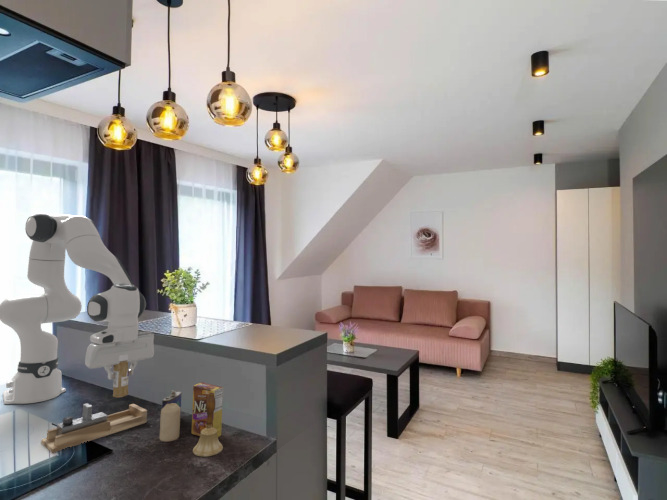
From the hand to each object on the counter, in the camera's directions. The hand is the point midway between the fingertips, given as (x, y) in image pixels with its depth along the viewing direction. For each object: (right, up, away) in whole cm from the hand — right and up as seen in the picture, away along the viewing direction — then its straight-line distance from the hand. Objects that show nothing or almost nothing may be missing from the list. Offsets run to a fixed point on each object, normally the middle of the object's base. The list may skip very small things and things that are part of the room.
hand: (120, 376), depth 121 cm
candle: (+19, -16, -7) cm, 26 cm away
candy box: (+30, -17, -5) cm, 34 cm away
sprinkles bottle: (0, -6, 0) cm, 6 cm away
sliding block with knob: (-6, -14, -9) cm, 18 cm away
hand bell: (+33, -16, -14) cm, 39 cm away
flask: (+15, -17, +3) cm, 23 cm away
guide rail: (-4, -15, -5) cm, 17 cm away
